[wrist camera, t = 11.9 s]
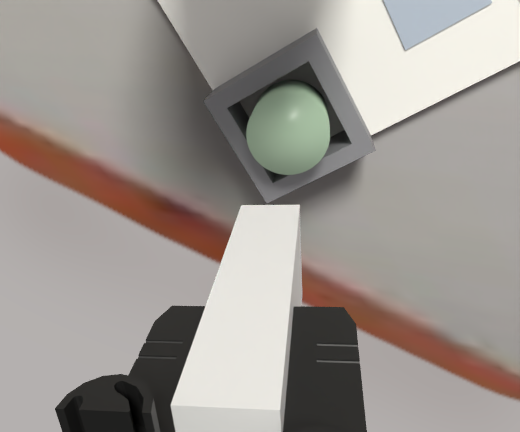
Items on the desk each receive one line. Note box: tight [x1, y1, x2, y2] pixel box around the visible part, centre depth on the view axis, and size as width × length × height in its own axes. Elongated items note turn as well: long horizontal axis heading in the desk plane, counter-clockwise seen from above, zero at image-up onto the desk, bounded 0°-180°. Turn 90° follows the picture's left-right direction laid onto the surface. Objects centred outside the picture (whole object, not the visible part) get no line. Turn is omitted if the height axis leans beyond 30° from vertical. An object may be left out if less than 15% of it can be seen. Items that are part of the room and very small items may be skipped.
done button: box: [246, 79, 330, 175], centre depth 22 cm, size 4×4×3 cm
